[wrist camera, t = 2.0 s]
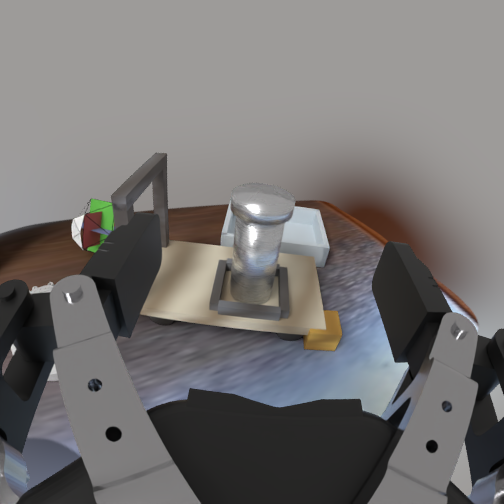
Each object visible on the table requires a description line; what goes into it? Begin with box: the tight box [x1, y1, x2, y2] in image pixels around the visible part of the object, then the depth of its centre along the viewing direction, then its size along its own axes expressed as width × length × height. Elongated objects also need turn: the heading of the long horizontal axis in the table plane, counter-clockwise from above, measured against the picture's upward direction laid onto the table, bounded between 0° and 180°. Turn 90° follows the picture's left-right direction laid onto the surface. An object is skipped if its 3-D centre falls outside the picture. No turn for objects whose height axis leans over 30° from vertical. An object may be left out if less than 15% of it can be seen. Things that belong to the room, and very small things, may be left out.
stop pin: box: [230, 183, 295, 305], centre depth 27 cm, size 5×5×10 cm
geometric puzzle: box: [71, 198, 115, 253], centre depth 35 cm, size 7×7×8 cm
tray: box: [221, 200, 330, 268], centre depth 41 cm, size 13×10×3 cm
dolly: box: [111, 153, 342, 351], centre depth 28 cm, size 20×12×13 cm, turn 87°
